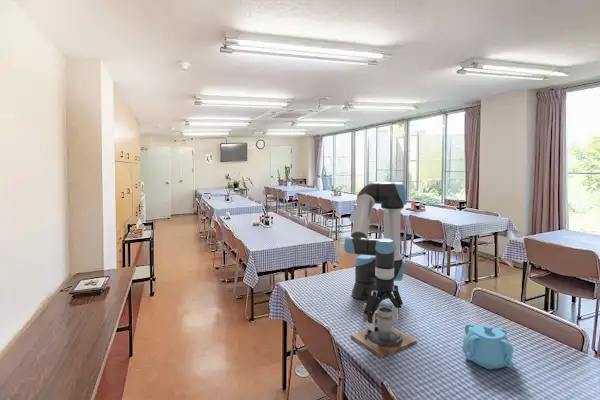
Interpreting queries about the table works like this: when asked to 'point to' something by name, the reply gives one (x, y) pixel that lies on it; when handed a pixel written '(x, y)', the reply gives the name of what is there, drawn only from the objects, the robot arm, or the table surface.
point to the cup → (384, 322)
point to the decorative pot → (487, 346)
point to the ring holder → (383, 341)
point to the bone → (367, 315)
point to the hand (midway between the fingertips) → (383, 325)
